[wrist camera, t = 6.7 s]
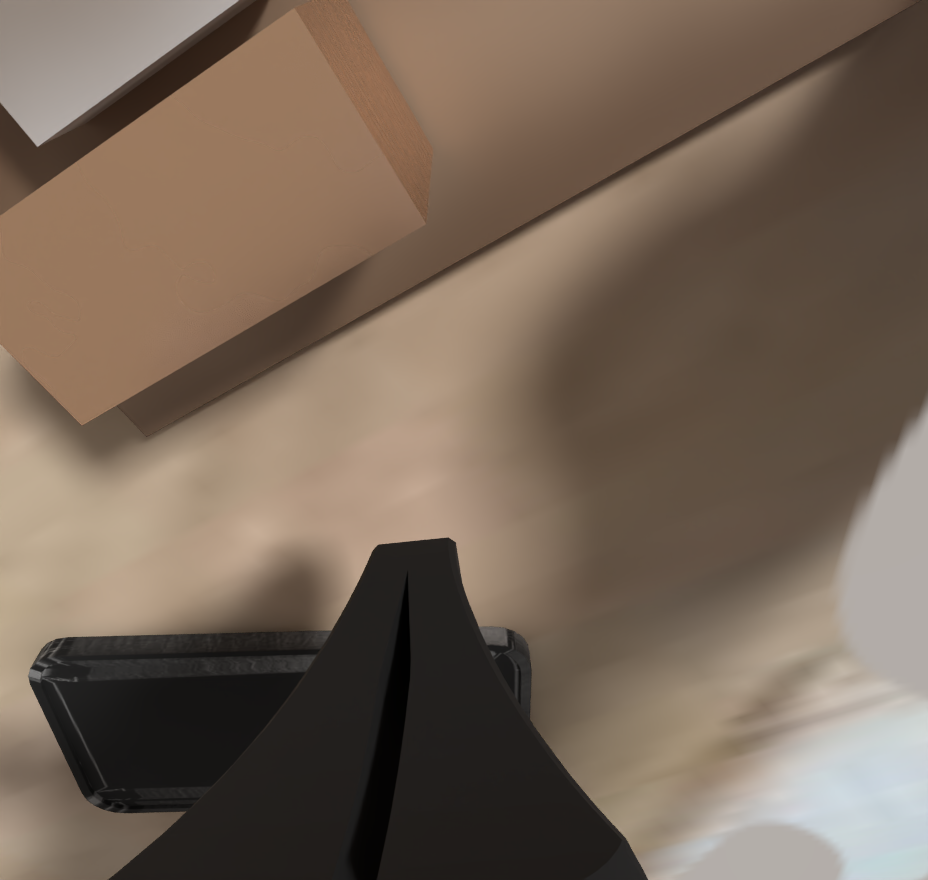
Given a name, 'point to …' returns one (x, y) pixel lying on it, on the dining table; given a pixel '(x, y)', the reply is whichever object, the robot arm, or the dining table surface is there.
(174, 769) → the phone
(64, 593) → the dining table surface
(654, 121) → the tongs base
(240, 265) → the brown rectangular block
